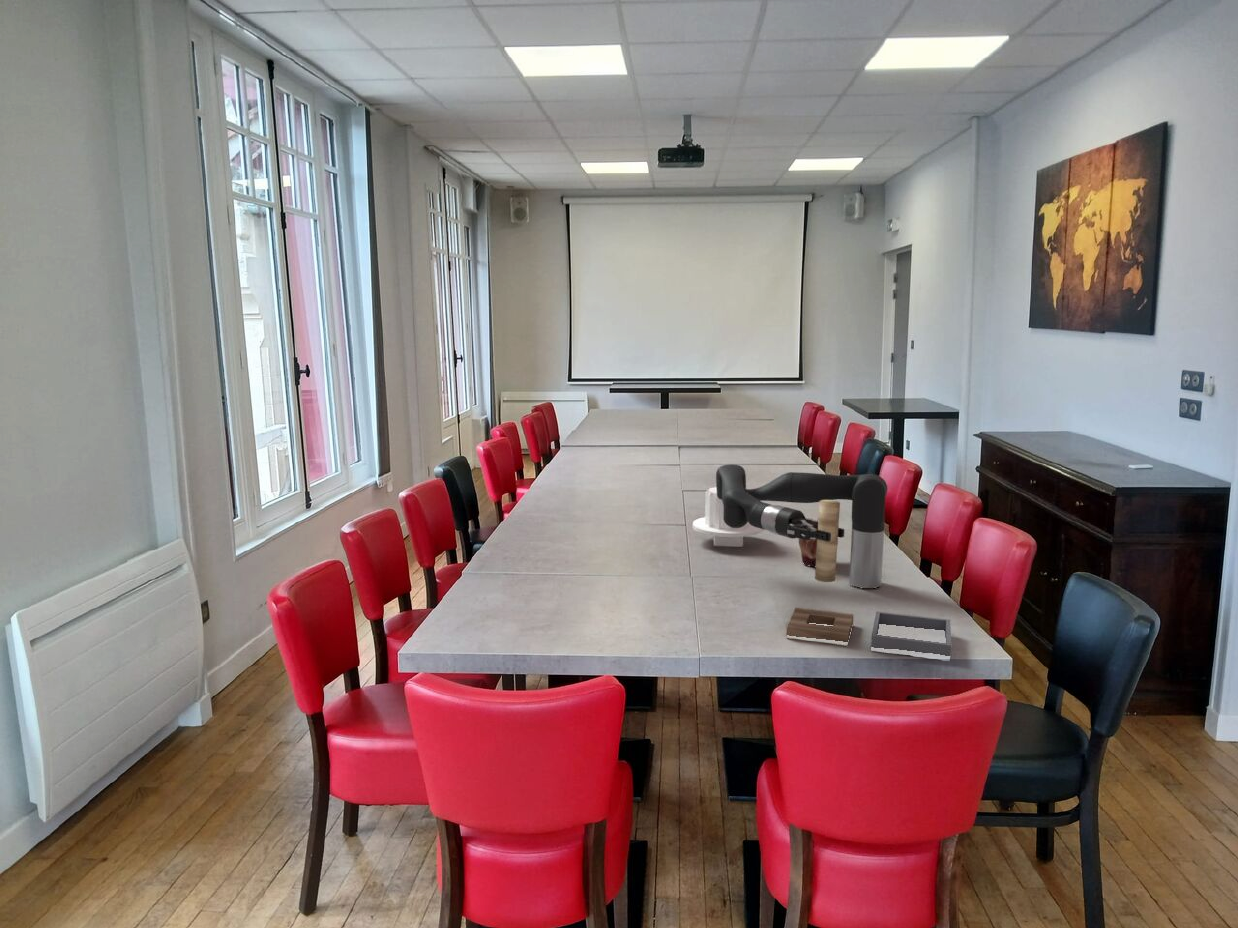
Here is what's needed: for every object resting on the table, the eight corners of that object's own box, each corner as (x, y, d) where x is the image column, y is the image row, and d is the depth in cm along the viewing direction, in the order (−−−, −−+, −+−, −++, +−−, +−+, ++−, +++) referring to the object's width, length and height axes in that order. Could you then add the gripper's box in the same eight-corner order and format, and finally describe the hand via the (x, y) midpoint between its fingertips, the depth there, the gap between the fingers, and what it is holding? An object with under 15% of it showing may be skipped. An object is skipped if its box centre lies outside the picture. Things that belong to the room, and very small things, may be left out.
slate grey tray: (875, 625, 224) (876, 611, 223) (949, 634, 218) (950, 619, 217) (870, 651, 207) (871, 635, 206) (950, 661, 201) (951, 645, 200)
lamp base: (761, 534, 314) (763, 483, 310) (766, 553, 289) (767, 499, 286) (692, 532, 316) (693, 482, 313) (691, 551, 292) (692, 497, 288)
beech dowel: (816, 574, 220) (820, 499, 216) (836, 576, 218) (841, 500, 214) (813, 580, 216) (818, 503, 211) (833, 583, 214) (838, 505, 210)
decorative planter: (829, 576, 265) (831, 533, 262) (790, 571, 270) (792, 528, 267) (842, 559, 282) (844, 518, 280) (805, 555, 288) (807, 514, 285)
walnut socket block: (795, 618, 229) (795, 607, 229) (853, 625, 224) (853, 614, 224) (786, 638, 215) (786, 626, 215) (847, 646, 210) (848, 634, 210)
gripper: (799, 530, 231) (852, 544, 218) (764, 539, 221) (818, 555, 209) (800, 503, 229) (854, 516, 216) (765, 511, 220) (819, 525, 207)
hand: (836, 535), depth 213 cm, fingers closed on beech dowel, 5 cm apart
